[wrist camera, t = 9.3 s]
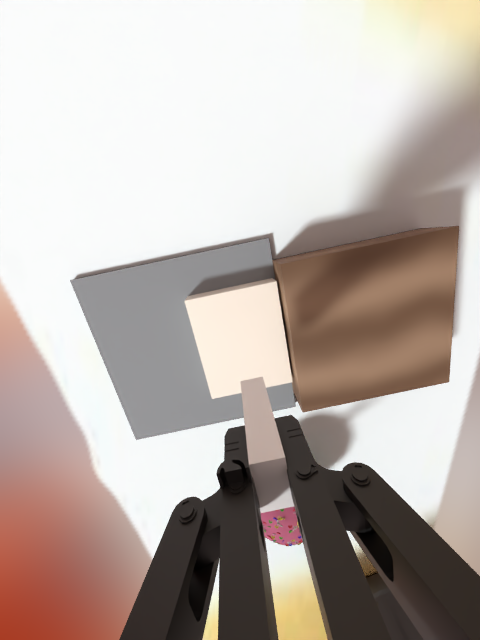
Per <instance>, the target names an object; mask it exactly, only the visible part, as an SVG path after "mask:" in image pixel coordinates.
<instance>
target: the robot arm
mask: <svg viewBox="0 0 480 640" xmlns="http://www.w3.org/2000/svg"><path fill="white" fill-rule="evenodd" d="M240 383H241V392H242V402H243V412H244V422H245V425H244V426H240V427H235V428H230V429H228V431H227V433H226V435H225V457H224V462H223V463H221V465H220V466H219V468H218V470H217V477H218V480H219V484H220V489H219V490H218V491H217V492H216V493H215V494H213V495H212V496H210V497H208V498H207V499H205V500H203V501H202V500H200V499H199V498H197V497H189V498H186V499H184V500H182V501H181V502H180V503H179V504H178V505H177V506H176V507H175V509H174V511H173V512H172V515H171V517H170V519H169V522H168V524H167V527H166V529H165V531H164V534H163V536H162V539H161V541H160V543H159V546H158V548H157V551H156V553H155V555H154V558H153V560H152V563H151V565H150V567H149V570H148V572H147V575H146V577H145V580H144V582H143V584H142V587H141V589H140V592H139V594H138V596H137V599H136V601H135V603H134V606H133V609H132V611H131V613H130V615H129V618H128V620H127V623H126V625H125V628H124V630H123V632H122V635H121V637H120V640H202V638H203V633H204V629H205V624H206V619H207V615H208V610H209V605H210V601H211V596H212V591H213V586H214V582H215V577H216V572H217V568H218V563H219V558H220V569H219V619H218V640H278V633H277V625H276V618H275V610H274V603H273V595H272V588H271V580H270V573H269V565H268V558H267V551H266V543H265V536H264V528H263V524H262V520H261V513H264V512H269V511H274V510H279V509H284V508H289V507H295V511H296V516H297V521H298V526H299V532H300V533H301V537H302V541H303V544H304V548H305V552H306V556H307V560H308V564H309V568H310V572H311V576H312V580H313V584H314V587H315V591H316V595H317V599H318V603H319V607H320V611H321V615H322V619H323V623H324V627H325V630H326V634H327V638H328V640H480V576H479V575H478V574H477V573H476V572H475V571H474V570H473V569H472V568H471V567H470V566H469V565H468V564H467V563H466V562H465V561H464V560H463V559H462V558H461V557H460V556H459V555H458V554H457V553H456V552H455V551H454V550H453V549H452V548H451V547H450V546H449V545H448V544H447V543H446V542H445V541H444V540H443V539H442V538H441V537H440V536H439V535H438V534H437V533H436V532H435V531H434V530H433V529H432V528H431V527H430V526H429V525H428V524H427V523H426V522H425V521H424V520H423V519H422V518H421V517H420V516H419V515H418V514H417V513H416V512H415V511H414V510H413V509H412V508H411V507H410V506H409V505H408V504H407V503H406V502H405V501H404V500H403V499H402V498H401V497H400V496H399V495H398V494H397V493H396V492H395V491H394V490H393V489H392V488H391V487H390V486H389V485H388V484H387V483H386V482H385V481H384V480H383V479H382V478H381V477H380V476H379V475H378V474H377V473H376V472H375V471H374V470H373V469H372V468H371V467H369V466H368V465H365V464H362V463H350V464H348V465H346V466H345V467H344V468H343V471H334V470H328V469H325V468H323V467H321V466H320V465H318V464H317V463H316V462H315V460H314V458H313V456H312V454H311V452H310V449H309V447H308V444H307V442H306V439H305V437H304V435H303V432H302V430H301V427H300V425H299V422H298V420H297V419H295V418H294V417H293V416H292V415H289V416H285V417H280V418H275V419H274V415H273V412H272V408H271V404H270V401H269V397H268V394H267V390H266V386H265V383H264V379H263V377H258V378H253V379H248V380H243V381H240ZM260 512H261V513H260ZM346 530H347V531H350V532H351V534H352V535H353V537H354V538H355V540H356V541H357V543H358V544H359V545H360V547H361V548H362V550H363V551H364V553H365V554H366V556H367V557H368V559H369V560H370V562H371V563H372V565H373V566H374V567H375V569H376V570H377V572H378V573H377V574H374V575H372V576H370V577H368V578H366V577H365V575H364V572H363V570H362V568H361V565H360V563H359V560H358V558H357V556H356V553H355V551H354V549H353V546H352V544H351V541H350V539H349V537H348V534H347V532H346Z"/></svg>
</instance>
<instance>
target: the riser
mask: <svg viewBox="0 0 480 640" xmlns="http://www.w3.org/2000/svg"><path fill="white" fill-rule="evenodd" d="M458 235H459V226H452V227H436V228H421V229H416V230H411V231H406V232H402V233H397V234H392V235H388V236H383V237H378V238H374V239H369V240H364V241H360V242H355V243H350V244H345V245H341V246H336V247H331V248H327V249H322V250H317V251H313V252H308V253H303V254H299V255H294V256H289V257H284V258H280V259H275V260H272V261H273V267H274V274H275V280H276V281H277V288H278V294H279V300H280V306H281V313H282V319H283V325H284V332H285V338H286V344H287V350H288V357H289V363H290V369H291V375H292V387H293V392H294V394H295V396H296V398H297V401H298V403H299V405H300V407H301V409H302V412H307V411H312V410H317V409H322V408H326V407H331V406H336V405H341V404H346V403H350V402H355V401H360V400H365V399H370V398H375V397H379V396H384V395H389V394H394V393H399V392H403V391H408V390H413V389H418V388H423V387H427V386H432V385H437V384H442V383H447V382H449V375H450V359H451V344H452V328H453V313H454V297H455V281H456V266H457V250H458Z"/></svg>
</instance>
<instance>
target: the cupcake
mask: <svg viewBox="0 0 480 640" xmlns="http://www.w3.org/2000/svg"><path fill="white" fill-rule="evenodd" d="M260 513H261V512H260ZM261 520H262V524H263V528H264V536H265V538H267V539H269V540H271V541H273V542H275V543H278V544H281V545H286V546H292V545H295V544H298V545H300V544H301V543H302V542H303V541H302V537H301V533H300V532H299V526H298V521H297V516H296V511H295V507H289V508H284V509H279V510H274V511H269V512H264V513H261Z"/></svg>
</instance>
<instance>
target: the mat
mask: <svg viewBox="0 0 480 640" xmlns="http://www.w3.org/2000/svg"><path fill="white" fill-rule="evenodd" d="M270 278H273V279H274V280H275V274H274V267H273V261H272V255H271V248H270V242H269V238H265V239H261V240H256V241H251V242H247V243H242V244H237V245H233V246H228V247H223V248H219V249H214V250H209V251H205V252H200V253H195V254H191V255H186V256H181V257H177V258H172V259H167V260H163V261H158V262H153V263H149V264H144V265H139V266H134V267H130V268H125V269H120V270H116V271H111V272H106V273H102V274H97V275H92V276H88V277H83V278H78V279H74V280H70V281H71V284H72V286H73V289H74V291H75V293H76V296H77V298H78V301H79V303H80V306H81V308H82V310H83V313H84V315H85V318H86V320H87V322H88V325H89V327H90V330H91V332H92V334H93V337H94V339H95V342H96V344H97V347H98V349H99V351H100V354H101V356H102V359H103V361H104V363H105V366H106V368H107V371H108V373H109V375H110V378H111V380H112V383H113V385H114V388H115V390H116V392H117V395H118V397H119V400H120V402H121V404H122V407H123V409H124V412H125V414H126V416H127V419H128V421H129V424H130V426H131V429H132V431H133V433H134V436H135V438H136V440H138V439H142V438H147V437H152V436H157V435H162V434H166V433H171V432H176V431H181V430H186V429H190V428H195V427H200V426H205V425H210V424H215V423H219V422H224V421H229V420H234V419H239V418H243V417H244V412H243V402H242V393H239V394H234V395H229V396H224V397H220V398H215V399H212V397H211V394H210V390H209V387H208V383H207V379H206V376H205V372H204V369H203V365H202V362H201V358H200V355H199V351H198V347H197V344H196V340H195V337H194V333H193V330H192V326H191V323H190V319H189V315H188V312H187V308H186V305H185V299H186V298H187V297H188V296H191V295H195V294H200V293H205V292H209V291H214V290H219V289H223V288H228V287H233V286H237V285H242V284H247V283H251V282H256V281H261V280H265V279H270ZM275 281H276V280H275ZM266 390H267V394H268V397H269V401H270V404H271V408H272V411H277V410H282V409H287V408H291V407H296V405H295V399H294V393H293V387H292V382H291V383H286V384H281V385H277V386H272V387H267V388H266Z"/></svg>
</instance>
